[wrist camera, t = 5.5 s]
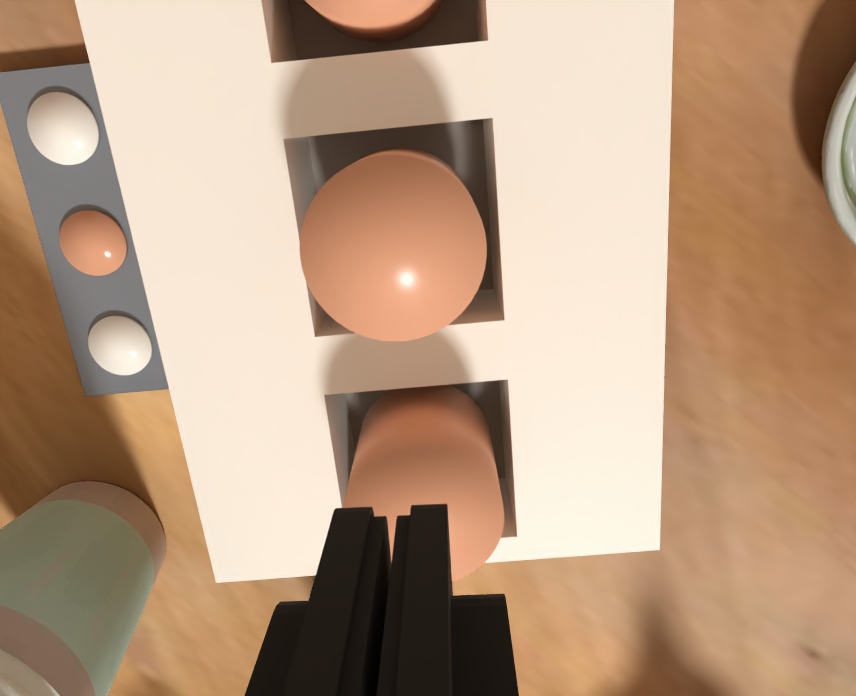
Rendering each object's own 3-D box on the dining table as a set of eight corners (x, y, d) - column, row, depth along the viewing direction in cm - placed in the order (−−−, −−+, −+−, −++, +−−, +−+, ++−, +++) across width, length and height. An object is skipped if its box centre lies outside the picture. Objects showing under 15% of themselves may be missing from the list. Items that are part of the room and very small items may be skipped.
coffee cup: (-7, 442, 28) (-311, 665, 16) (196, 462, 28) (36, 696, 17) (13, 606, 31) (-234, 893, 19) (198, 623, 31) (61, 917, 19)
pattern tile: (114, 62, 23) (103, 60, 22) (188, 381, 27) (181, 389, 26) (2, 74, 23) (-12, 72, 22) (92, 390, 27) (82, 398, 26)
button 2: (469, 139, 21) (480, 146, 16) (479, 287, 22) (492, 333, 18) (318, 154, 21) (285, 165, 16) (339, 300, 22) (314, 349, 18)
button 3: (485, 375, 23) (499, 440, 19) (494, 492, 25) (508, 580, 20) (351, 386, 23) (331, 454, 19) (368, 502, 25) (353, 591, 20)
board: (623, -209, 20) (681, -308, 15) (621, 477, 28) (659, 549, 23) (113, -149, 21) (19, -227, 16) (251, 506, 29) (216, 582, 24)
